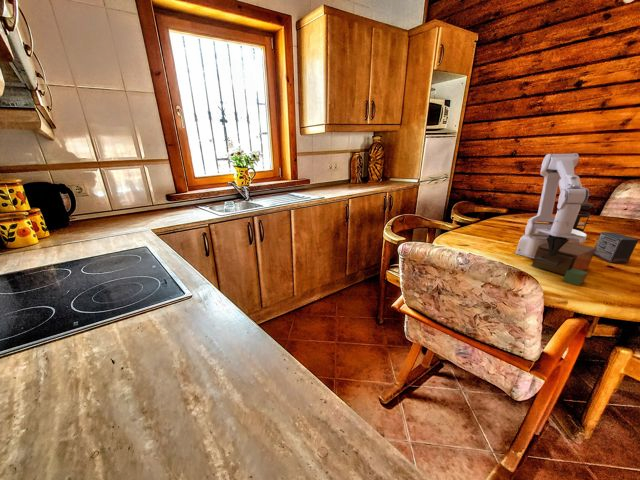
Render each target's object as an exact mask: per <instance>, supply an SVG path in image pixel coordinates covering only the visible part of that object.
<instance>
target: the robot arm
mask: <svg viewBox="0 0 640 480" xmlns="http://www.w3.org/2000/svg"><path fill="white" fill-rule="evenodd" d="M579 155H580V154H578V153H577V152H574V153H547V154H546V155H545V156H544V157H543V160H542V163H541V167H540V176H542V177H543V184H542V190H541V195H540V200H539V204H538V210H537V214H536V215H535V216H532V217H530V218H529V219H528V220H527V224H526V226H525V228H524V233H525V234H523V235H522V236H521V237H520V238H519V240H518V244H517V247H516V250H515V252H514V254H515V255H519V256H523V257H526V258H530V259H533V260H534V257H535V254H536V251H537V248H538V246H539V245H542V244H545V243H548V245H549V255H551V256H554V255H556V254H557V252H558V251H559V249H560V248H561V247H562V246H563V245H564V244H565V243H566V242H568V241H569V240H572V241H577V242H579V243H580V244H583V243H586V240H587V237H584V236H580V235H576V234H573V233H571V231H572V229H573V226H574V223H575V221H576V218H577V215H579V214H578V213H579V210H580V211H581V209H580V207H581V205H584V204H585V203H587V201H588V199H589V196H590V193H589V192H590V191H589V190H590V189H589V188H587V187H585V186H584V187H583V185H582V182H581V178H580V176H579V175H577V174H575V168H576V167H577V165H578V163H579V159H580V156H579ZM558 188H559V194H558V195H559V196H558V199H557V200H558V201H557V205H556V208H557V210H556V213H555V217H554V216H553V213H554V207H555V202H556V198H557V193H558Z"/></svg>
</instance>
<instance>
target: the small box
mask: <svg viewBox="0 0 640 480" xmlns="http://www.w3.org/2000/svg"><path fill="white" fill-rule="evenodd" d="M638 242H639V239H637V238H634V237H631V236H628V235H626V234H622V233H619V232H611V231H609V232H608V231H601V232H600V233H599V236H598V238H597V241H596V243H595V245H594V246H593V247H594V248H596V250H595V252H594V255H593V256H595V257H597V258H600V259H602V260H604V261H606V262H608V263H614V264H615V263H617V264H619V263H620V264H628V262H629V261H630V258H631V256H632V254H633V252H634V250H635V249H636V246H637V244H638Z"/></svg>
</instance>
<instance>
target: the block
mask: <svg viewBox="0 0 640 480" xmlns="http://www.w3.org/2000/svg"><path fill="white" fill-rule="evenodd" d="M588 274H589V272H588V271H585V270H583V271H582V270H578V269H574V268H572V269H570V270H567V272H566V274H565V275H564V276H563V280H562V282H565V283H569V284H571V285H574V286H580V285H582V284H584V283H585V281H586V278H587V276H588Z"/></svg>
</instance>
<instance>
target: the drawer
mask: <svg viewBox="0 0 640 480" xmlns="http://www.w3.org/2000/svg"><path fill="white" fill-rule="evenodd" d="M573 259H574V256H570V255H566V254H562V253H558V252H557V254H556V255H554V256H551V255H549V250H546V249H537V251H536V254H535V257H534V259H533V261H532V263H531V266H532V265H533V266H532V267H534V266H537V267H536V268H538V267H540V268H539V269H541V268H543V269H542V270H544V269H547V270H546V271H548V270H550V271H549V272H551V271H554V272H557V273H556V274H558V273H560V274H559V275H561V274H564V275H563V276H565V274H566V272H567V270H569V269H570V267H571V264H572V262H573ZM554 272H553V273H554Z"/></svg>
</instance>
